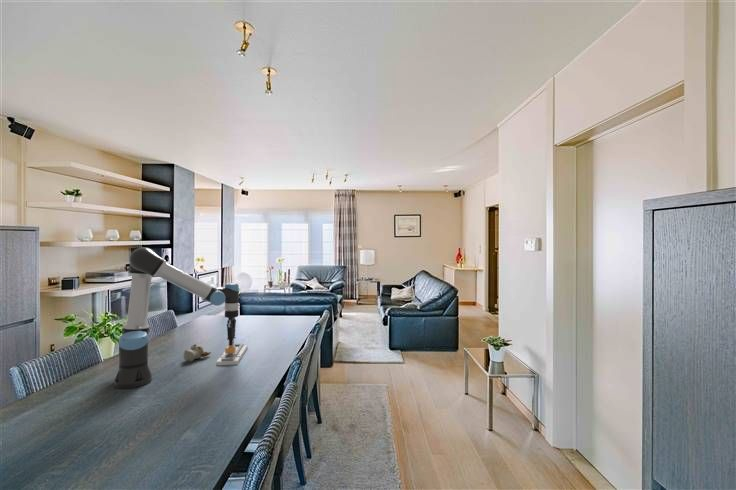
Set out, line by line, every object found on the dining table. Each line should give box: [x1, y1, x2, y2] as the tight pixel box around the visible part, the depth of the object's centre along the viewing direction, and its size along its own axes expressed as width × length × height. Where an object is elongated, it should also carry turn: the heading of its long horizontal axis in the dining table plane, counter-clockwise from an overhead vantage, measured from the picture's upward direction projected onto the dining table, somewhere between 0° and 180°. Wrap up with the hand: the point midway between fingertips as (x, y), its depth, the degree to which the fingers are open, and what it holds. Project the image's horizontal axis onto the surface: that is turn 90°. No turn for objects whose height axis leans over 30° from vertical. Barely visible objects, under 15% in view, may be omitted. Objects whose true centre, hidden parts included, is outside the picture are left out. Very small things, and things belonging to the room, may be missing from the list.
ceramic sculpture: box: [183, 344, 212, 363], centre depth 203 cm, size 11×9×15 cm
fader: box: [224, 346, 236, 357], centre depth 202 cm, size 3×5×5 cm, turn 99°
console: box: [216, 343, 249, 366], centre depth 208 cm, size 30×11×3 cm, turn 9°
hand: (231, 350), depth 204 cm, fingers closed
